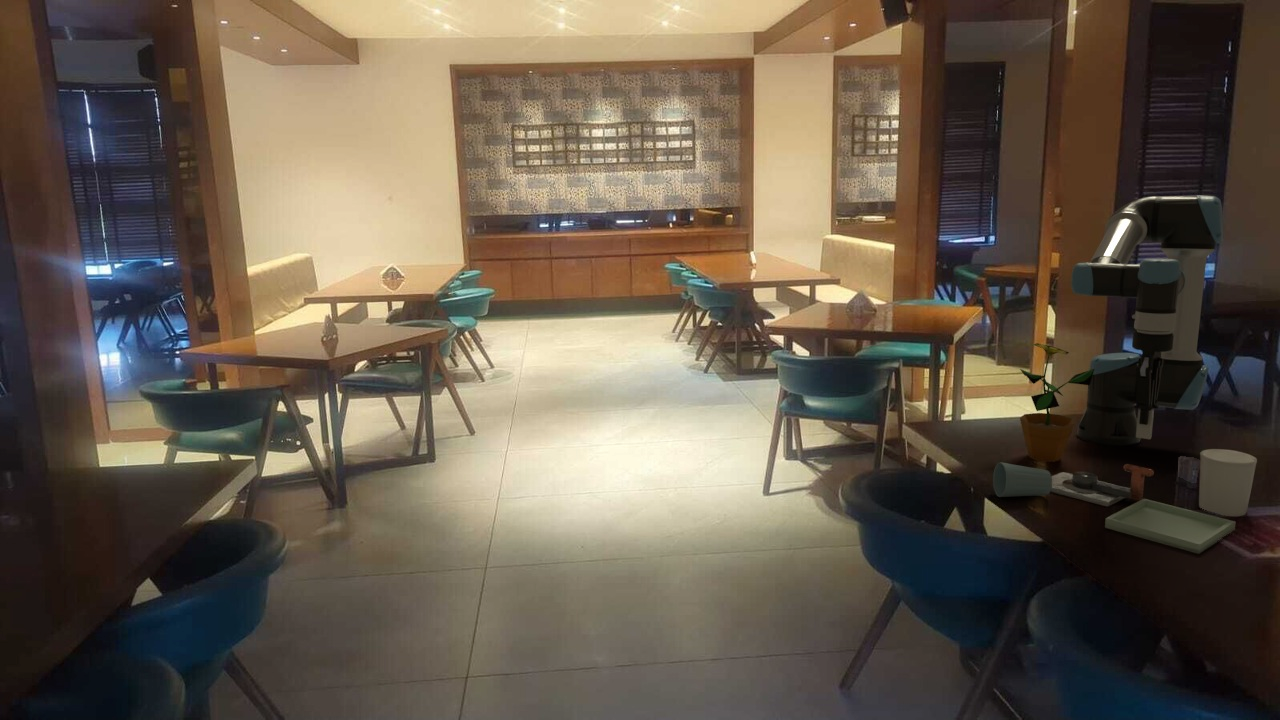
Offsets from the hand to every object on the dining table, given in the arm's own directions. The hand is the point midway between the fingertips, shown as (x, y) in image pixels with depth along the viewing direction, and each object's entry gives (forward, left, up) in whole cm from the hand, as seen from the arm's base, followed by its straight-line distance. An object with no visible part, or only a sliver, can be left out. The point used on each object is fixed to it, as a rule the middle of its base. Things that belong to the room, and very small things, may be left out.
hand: (1143, 437), depth 188 cm
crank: (+6, -9, -12) cm, 16 cm away
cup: (+18, -13, -14) cm, 26 cm away
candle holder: (-4, +15, -14) cm, 21 cm away
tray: (+16, +13, -13) cm, 24 cm away
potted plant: (-11, -27, -14) cm, 32 cm away
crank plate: (+6, -9, -13) cm, 17 cm away
